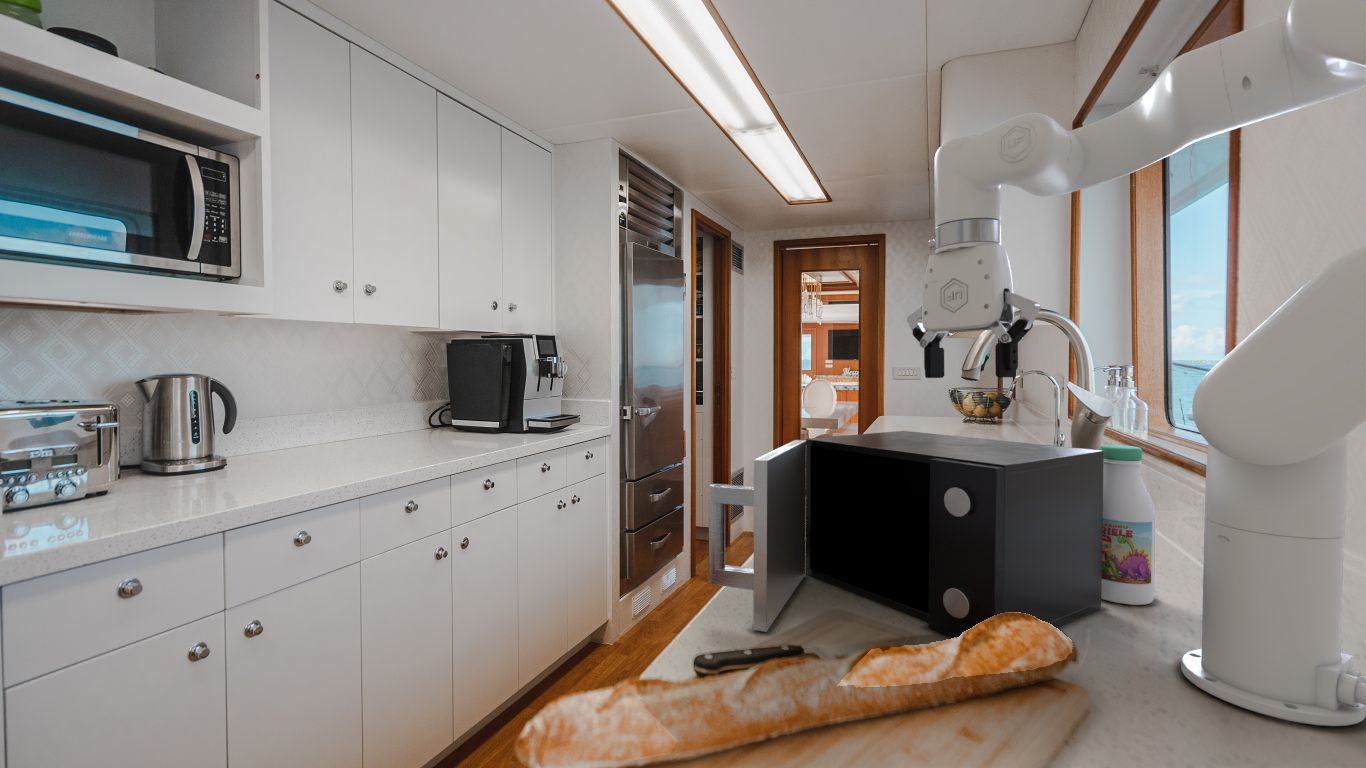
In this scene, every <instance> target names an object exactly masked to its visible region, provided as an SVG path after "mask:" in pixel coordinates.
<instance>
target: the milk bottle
mask: <svg viewBox="0 0 1366 768" xmlns="http://www.w3.org/2000/svg"><path fill="white" fill-rule="evenodd" d="M1099 450H1101V451H1104V458H1103V459H1104V465H1103V525H1102V585H1101V600H1104V601H1108V602H1111V603H1117V604H1124V605H1132V606H1133V605H1135V606H1141V605H1148V604H1152V603H1153V601H1154V599H1155V592H1156V591H1155V589H1156V585H1155V584H1156V536H1157V535H1156V533H1157V531H1156V529H1157V528H1156V511H1155V506H1154V502H1153V499H1152V497H1151V495H1150V493H1149V491H1148V489H1147V487H1146V485H1145V483H1144V481H1143V477H1142V474H1141V467H1140V466H1141V465H1142V464H1143V462H1142V460H1143V448H1141V447H1140V446H1139V447H1138V446H1134V445H1124V444H1103V445H1101V446H1100V447H1099Z"/></svg>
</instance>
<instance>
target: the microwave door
mask: <svg viewBox="0 0 1366 768" xmlns="http://www.w3.org/2000/svg"><path fill="white" fill-rule="evenodd" d="M806 446H807V445H806V439H805V440H804V439H801V440H800V439H794V440H792V441H790V442H789V443H786V444H784V445H782V446H780V447H777V448H775V449H773V450H771V451H769V452H767V453H765V454H763V455H761V456H758V457H756V458H754V459H753V485H741V484H725V483H711V484H709V485H708V583H709V584H710V585H712V586H713V585H714V586H721V587H728V588H734V589H741V590H749V591H753V593H752V594H753V595H752V597H753V601H752V603H753V605H752V607H753V609H752V612H753V613H752V618H753V619H752V620H753V621H752V623H753V624H752V629H753V631H758V632H765V633H767V632H768V631H769V629H770V628H771V626H772V625H773V623H774V621H775V620H776V619H777V617H778V616H779V614H780V613H781V611H782V610H783V608H784V607H785V605H786V604H787V602H788V601H789V600H790V598H791V597H792V595H793V594H794V592H795V591H796V589H797V587H798V586H799V585H800V583H801V582H802V581H803V579H804V578H805V576H806V567H805V559H806ZM726 505H731V506H744V507H753V563H752V564H753V568H752V567H745V566H738V565H730V564H726Z"/></svg>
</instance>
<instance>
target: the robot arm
mask: <svg viewBox="0 0 1366 768" xmlns="http://www.w3.org/2000/svg"><path fill="white" fill-rule="evenodd" d="M1365 88H1366V0H1291V2H1290V3H1289V6H1288V10H1287V12H1286V13H1283V14H1280V15H1279V16H1275V17H1274V18H1271V19H1269V20H1267V21H1264V22H1261V23H1259V24H1257V25H1254V26H1251V27H1249V28H1247V29H1244V30H1241V31H1239V32H1236V33H1234V34H1231V35H1229V36H1226V37H1223V38H1221V39H1218V40H1216V41H1213V42H1210V43H1208V44H1205V45H1202V46H1201V47H1200V46H1199V47H1198V48H1195V49H1193V50H1189V51H1188V52H1185V53H1183V54H1181V55H1179V56H1177V57H1175V58H1174V59H1173V60H1172V61H1170V63H1169V64H1168V65H1166V67H1165V68H1164V69H1163V71H1162V72H1161V73H1160V75H1158V77H1157V79H1156V80H1155V81H1154V82H1153V83H1152V85H1151V86H1150V88H1149V89H1148V90H1147V91H1146V92H1145V93H1144V94H1143V95H1142V96H1141V97H1139V98H1138V99H1137V100H1135V101H1134V102H1133V103H1131V104H1130V105H1128V106H1126V107H1125V108H1123V109H1121V110H1120V111H1117V112H1115V113H1113V114H1111V115H1109V116H1106V117H1104V118H1102V119H1100V120H1096V121H1094V122H1092V123H1089V124H1086V125H1083V126H1080V127H1077V128H1075V129H1071V130H1067V128H1066V127H1064V126H1062V125H1061V124H1060V123H1059V122H1057V121H1056V120H1055V119H1054V118H1052V117H1051V116H1049V115H1047V114H1044V113H1041V112H1025V113H1021V114H1018V115H1015V116H1013V117H1010V118H1008V119H1006V120H1003V121H1002V122H1000V123H998V124H996V125H993V126H992V127H990V128H987V129H985V130H983V131H981V132H978V133H976V134H971V135H964V136H959V137H956V138H953V139H950V140H947V141H946V142H944V143H942V144H941V146H939V147H938V148H937V150H936V152H935V155H934V163H933V165H934V167H933V170H934V172H933V173H934V175H933V176H934V177H933V179H934V238H931V239H930V240H928V248H929V250H932V251H933V250H934V254H931V255H929V257H928V261H927V264H926V270H925V275H924V280H923V281H924V282H923V290H922V306H920V307H919V308H918V309H916V310H914V312H912V313H911V314H909V315H908V316H907V318H906V321H907V323H908V325H909V327H910V330H911V331H912V336H913V337H914V338H915V340H917V341H918V343H919V346H920V347H921V348H923V369H924V376H925V377H924V378H926V379H943V378H944V377H945V348H944V347H941V345H942V343H943V342H944V341H945V339H946V338H947V336H948V335H949V333H968V332H980V331H981V332H982V331H991V332H992V333H993V334H994V335H995V337H996V338H997V339H998V340H999V342H998V343H996V344H995V346H994V349H995V352H994V355H995V356H994V359H995V362H994V363H995V377H997V378H1016V376H1017V370H1018V368H1019V344H1021V343H1022V342H1023V340H1024V337H1025V336H1026V335H1027V334H1028V333H1029V332H1030V331H1031V330H1032V329H1033V328H1034V321H1036V318H1037V316H1038V314H1039V312H1040V311H1041V309H1042V306H1041V303H1039V302H1037V301H1035V300H1032V299H1029V298H1026V297H1024V296H1021V295H1020V294H1019V295H1018V294H1016V293H1014V284H1013V275H1012V268H1011V264H1010V263H1011V262H1010V260H1009V259H1010V258H1009V255H1008V252H1007V248H1006V246H1004V245H1002V210H1001V209H1002V207H1001V206H1002V202H1001V200H1002V198H1001V195H1002V194H1001V192H1002V190H1001V186H1002V185H1006V186H1012V187H1016V188H1019V189H1021V190H1023V191H1025V192H1026V193H1029V194H1031V195H1033V196H1036V197H1042V198H1043V197H1045V198H1047V197H1056V196H1057V197H1058V196H1062V195H1066V194H1070V193H1074V192H1078V191H1081V190H1084V189H1087V188H1091V187H1095V186H1097V185H1101V184H1104V183H1108V182H1111V181H1114V180H1117V179H1120V178H1122V177H1125V176H1128V175H1130V174H1133V173H1135V172H1137V171H1140V170H1141V169H1144V168H1146V167H1148V166H1150V165H1152V164H1154V163H1157V162H1158V161H1160V160H1163V159H1164V158H1167V157H1169V156H1172V155H1174V154H1176V153H1177V152H1180V151H1181V150H1183V149H1184V148H1186V147H1187V146H1190V145H1191V144H1194V143H1196V142H1199V141H1201V140H1204V139H1205V140H1206V139H1208V138H1211V137H1214V136H1217V135H1221V134H1223V133H1226V132H1229V131H1233V130H1237V129H1239V128H1242V127H1244V126H1248V125H1249V126H1250V125H1251V124H1255V123H1258V122H1261V121H1263V120H1267V119H1270V118H1275V117H1277V116H1280V115H1284V114H1287V113H1291V112H1293V111H1296V110H1301V109H1304V108H1306V107H1310V106H1313V105H1316V104H1319V103H1322V102H1323V103H1324V102H1326V101H1330V100H1333V99H1336V98H1338V97H1342V96H1344V95H1348V94H1352V93H1354V92H1357V91H1359V90H1363V89H1365ZM1015 308H1016V309H1017V310H1019V311H1020V314H1019V318H1018V319H1017V320H1016V321H1015V322H1014V318H1015ZM1013 322H1014V323H1013ZM1191 409H1192V418H1193V421H1194V424H1195V427H1196V428H1197V431H1198V433H1199V434H1200V435H1201V436H1202V438H1203V439H1204V441H1206V442H1207V455H1206V470H1205V486H1204V487H1205V488H1204V517H1203V562H1202V564H1203V565H1202V607H1201V608H1202V611H1201V612H1202V614H1201V648H1200V649H1193V650H1190V651H1187V652H1185V653H1184V654H1182V655H1181V658H1180V667H1181V668H1180V669H1181V672H1182V674H1183V675H1184V677H1185V678H1186V679H1187V680H1189V681H1190V683H1192V684H1194V686H1196V687H1198V688H1199V689H1201V690H1202V691H1204V692H1206V693H1208V694H1210V695H1211V696H1213V697H1216V698H1218V699H1219V700H1222V701H1224V702H1227V703H1229V704H1231V705H1234V706H1237V707H1239V708H1242V709H1246V710H1248V711H1252V712H1255V713H1257V714H1260V715H1263V716H1264V715H1265V716H1268V717H1272V718H1275V719H1279V720H1286V721H1289V722H1295V723H1298V724H1299V723H1300V724H1305V725H1312V726H1322V727H1323V726H1324V727H1346V726H1347V727H1348V726H1352V725H1357V724H1359V723H1361V722H1363V721H1364V720H1365V718H1366V676H1364V675H1362V674H1361V671H1359V670H1356V669H1353V663H1354V661H1353V660H1354V658H1353V657H1354V656H1353V655H1351V654H1347V653H1344V652H1342V643H1343V641H1342V638H1343V604H1344V603H1343V602H1344V601H1343V600H1344V599H1343V598H1344V566H1345V565H1344V562H1345V560H1344V559H1345V535H1346V515H1347V514H1346V511H1347V510H1346V508H1347V471H1348V468H1347V467H1348V445H1349V444H1348V443H1349V434H1350V433H1352V432H1353V431H1354V430H1356V429H1357V428H1358V427H1359V426H1361V425H1362V424H1364V423H1365V422H1366V245H1365V246H1362V247H1359V248H1357V249H1354V250H1353V251H1350V252H1348V253H1346V254H1344V255H1342V256H1340V257H1339V258H1337V259H1336V260H1333V262H1331V263H1329V265H1326V267H1324V268H1323V269H1321V270H1320V271H1319V272H1318V273H1316V274H1315V276H1313V277H1312V278H1310V279H1309V281H1307V282H1306V283H1305V284H1304V285H1303V286H1302V287H1300V289H1299V290H1297V291H1296V292H1295V293H1294V294H1293V295H1292V296H1290V298H1288V300H1286V301H1285V302H1284V303H1283V304H1282V305H1281V306H1279V307H1278V308H1277V310H1275V311H1274V312H1273V313H1271V315H1269V316H1268V317H1267V318H1266V319H1265V320H1264V321H1263V322H1262V323H1261V324H1260V325H1258V326H1257V327H1256V328H1255V329H1254V330H1253V331H1252V332H1251V333H1249V335H1248V336H1246V337H1245V338H1243V340H1242V341H1241V342H1239V343H1238V344H1237V345H1236V346H1235V347H1234V348H1233V349H1232V350H1231V351H1230V352H1228V353H1227V354H1226V355H1225V356H1224V357H1223V358H1222V359H1221V360H1219V361H1218V362H1217V363H1216V364H1215V365H1214V366H1213V367H1212V368H1211V369H1210V370H1209V371H1208V372H1207V373H1206V374H1205V375H1204V376H1203V378H1201V380H1200V382H1199V383H1198V385H1197V386H1196V389H1195V391H1194V394H1193V398H1192V405H1191Z"/></svg>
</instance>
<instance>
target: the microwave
mask: <svg viewBox="0 0 1366 768" xmlns="http://www.w3.org/2000/svg"><path fill="white" fill-rule="evenodd" d="M805 440H806V533H805V575H808V576H810V577H813V578H815V579H817V580H820V581H823V582H825V583H828V584H831V585H833V586H836V587H838V588H840V589H843V590H845V591H848V592H851V593H854V594H856V595H859V596H861V597H863V598H867V599H868V600H871V601H873V602H876V603H878V604H881V605H884V606H887V607H890V608H892V609H894V610H896V611H898V612H902V613H904V614H907V615H910V616H913V617H915V618H918V619H920V620H922V621H925V622H928V623H927V624H928V625H927V627H928V628H931V629H933V630H935V631H938V632H939V633H942V634H946V635H948V636H951V637H952V638H956V639H958V638H957V637H959V636H960V635H961V634H962V632H964V631H966V630H968V629H970V628H972V627H973V626H975V625H976V624H978V623H980V622H982V621H984V620H986V619H988V618H990V617H992V616H994V615H997V614H1000V613H1005V612H1021V613H1026V614H1030V615H1032V616H1035V617H1036V618H1038V619H1040V620H1042V621H1045V622H1048V623H1050V624H1052V625H1053V626H1054V627H1056V628H1055V629H1057V628H1060V627H1062V626H1064V625H1067V624H1069V623H1071V622H1073V621H1075V620H1078V619H1081V618H1083V617H1085V616H1088V615H1090V614H1092V613H1094V612H1096V611H1099V610H1101V609H1102V599H1101V585H1102V525H1103V465H1104V459H1103V458H1104V451H1101V450H1100V449H1091V448H1080V447H1070V446H1061V445H1060V446H1059V445H1051V444H1041V443H1040V444H1039V443H1029V442H1020V441H1012V440H1011V441H1009V440H1002V439H1001V440H999V439H992V438H991V439H989V438H979V437H971V436H970V437H969V436H960V435H950V434H940V433H939V434H938V433H931V432H930V433H929V432H919V431H910V430H898V431H897V430H896V431H885V432H872V433H860V434H847V435H835V436H834V435H833V436H824V437H823V436H821V437H811V438H810V437H809V438H805Z"/></svg>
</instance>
